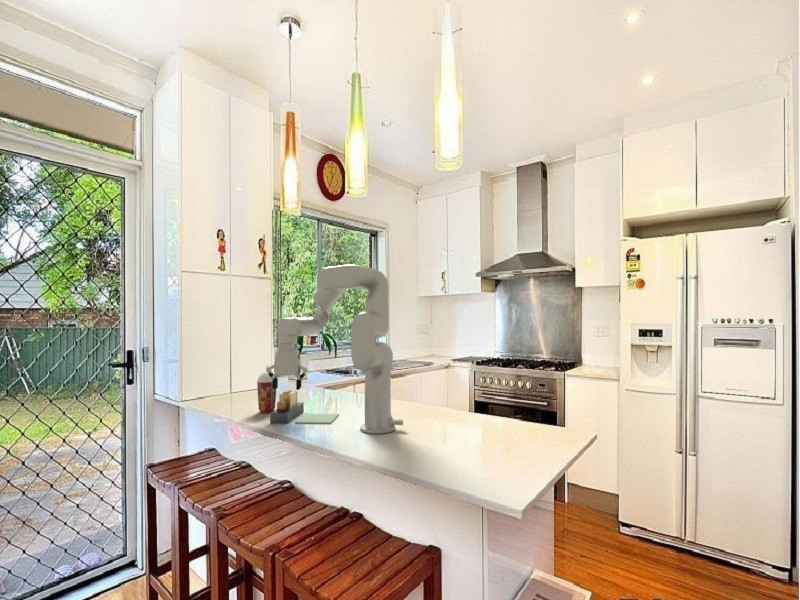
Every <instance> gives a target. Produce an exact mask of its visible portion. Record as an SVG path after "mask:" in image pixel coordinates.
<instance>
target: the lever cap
mask: <svg viewBox="0 0 800 600" xmlns="http://www.w3.org/2000/svg"><path fill="white" fill-rule="evenodd" d="M296 391H297V390H291V389H286V390H284V391H282V392H281V393H279V395H278V397H279V398H278V399H279V400H278V402H285V407H291V409H292V408H293V407H295V406H296Z"/></svg>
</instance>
